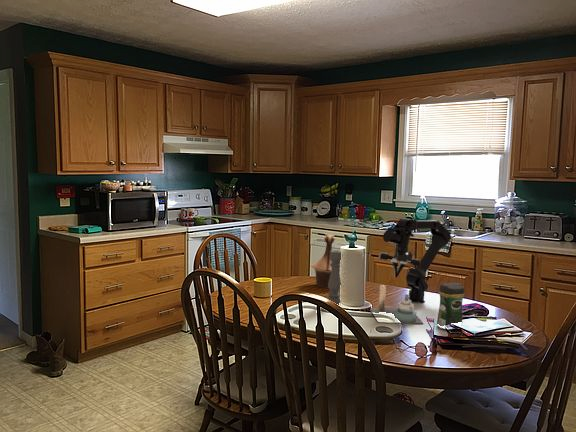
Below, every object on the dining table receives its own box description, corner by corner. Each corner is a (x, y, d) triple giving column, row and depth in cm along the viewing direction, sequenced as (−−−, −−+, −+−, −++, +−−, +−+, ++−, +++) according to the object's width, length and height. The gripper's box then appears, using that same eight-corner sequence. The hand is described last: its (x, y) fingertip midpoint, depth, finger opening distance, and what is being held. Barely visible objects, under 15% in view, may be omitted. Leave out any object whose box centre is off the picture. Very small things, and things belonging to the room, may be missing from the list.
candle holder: (331, 307, 224) (334, 252, 221) (324, 303, 229) (327, 250, 226) (343, 305, 227) (345, 252, 224) (335, 302, 232) (338, 249, 229)
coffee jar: (452, 324, 206) (456, 280, 204) (465, 330, 199) (468, 285, 197) (433, 325, 203) (436, 281, 201) (444, 332, 196) (448, 286, 194)
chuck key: (413, 312, 211) (414, 286, 210) (413, 316, 204) (415, 290, 203) (378, 308, 214) (380, 283, 213) (377, 312, 208) (379, 287, 207)
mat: (410, 310, 223) (411, 309, 223) (423, 324, 204) (423, 322, 204) (369, 309, 223) (369, 307, 223) (377, 322, 204) (377, 321, 204)
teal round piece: (412, 317, 213) (413, 309, 213) (418, 324, 204) (419, 315, 204) (391, 316, 213) (392, 308, 213) (396, 323, 204) (397, 314, 204)
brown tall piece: (343, 290, 254) (346, 237, 251) (310, 289, 254) (313, 235, 251) (340, 282, 271) (343, 232, 268) (309, 281, 271) (312, 231, 269)
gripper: (384, 242, 225) (378, 275, 225) (425, 249, 223) (419, 283, 224) (381, 240, 236) (375, 272, 236) (420, 248, 234) (414, 280, 235)
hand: (395, 277), depth 232 cm, fingers closed
